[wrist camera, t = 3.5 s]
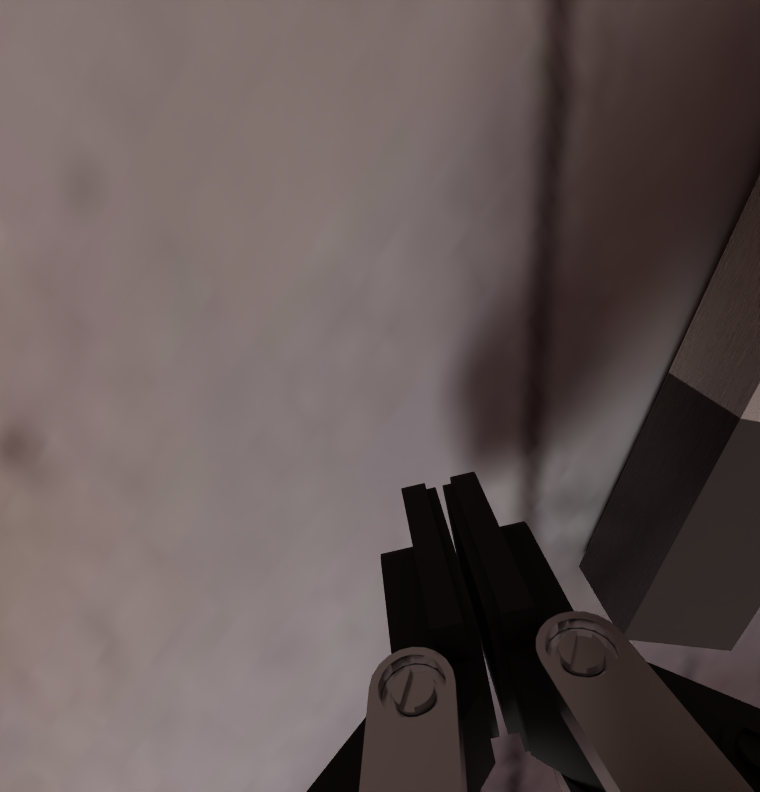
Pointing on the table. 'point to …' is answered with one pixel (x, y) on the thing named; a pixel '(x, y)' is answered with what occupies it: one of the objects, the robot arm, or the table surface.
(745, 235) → the tongs arm
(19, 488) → the table surface
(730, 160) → the table surface
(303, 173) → the table surface
